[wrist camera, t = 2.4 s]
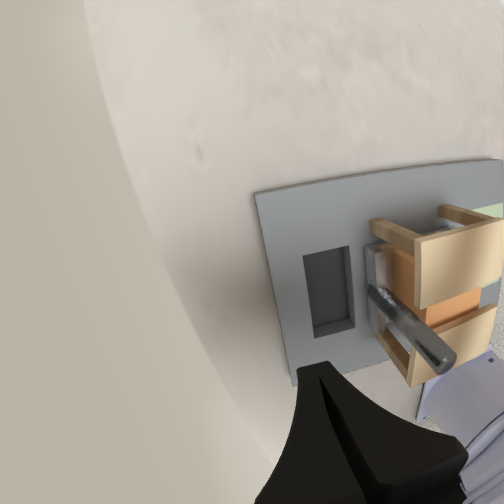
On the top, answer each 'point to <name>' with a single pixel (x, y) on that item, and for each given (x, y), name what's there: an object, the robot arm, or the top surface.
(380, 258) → the sled
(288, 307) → the deck
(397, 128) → the top surface
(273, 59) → the top surface
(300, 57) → the top surface
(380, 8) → the top surface
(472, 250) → the wooden stool
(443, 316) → the block
